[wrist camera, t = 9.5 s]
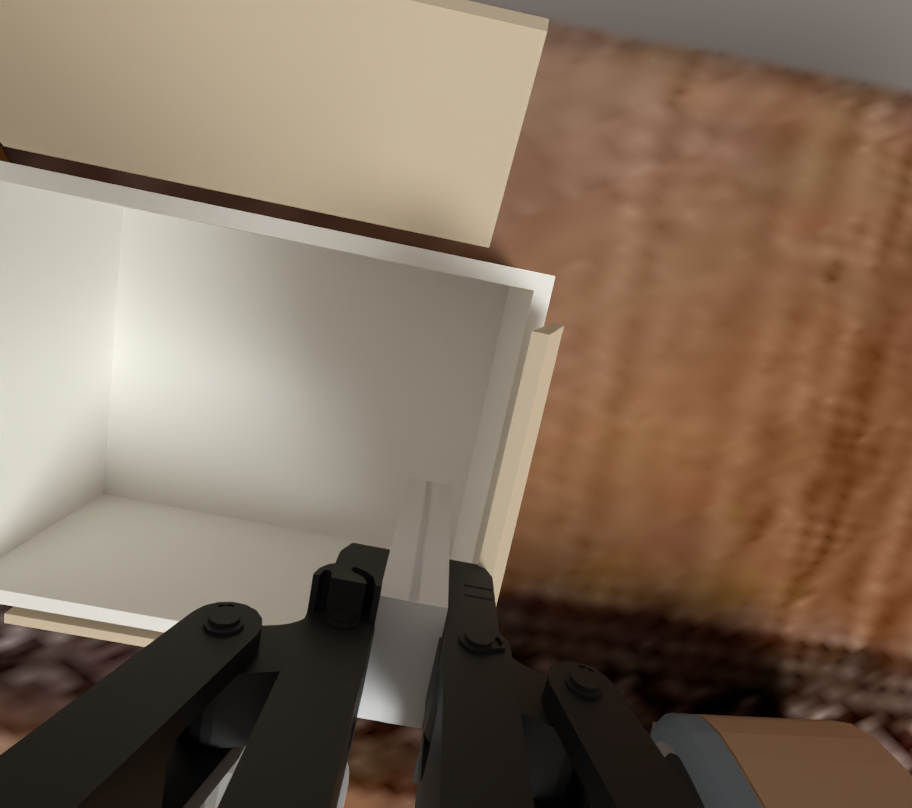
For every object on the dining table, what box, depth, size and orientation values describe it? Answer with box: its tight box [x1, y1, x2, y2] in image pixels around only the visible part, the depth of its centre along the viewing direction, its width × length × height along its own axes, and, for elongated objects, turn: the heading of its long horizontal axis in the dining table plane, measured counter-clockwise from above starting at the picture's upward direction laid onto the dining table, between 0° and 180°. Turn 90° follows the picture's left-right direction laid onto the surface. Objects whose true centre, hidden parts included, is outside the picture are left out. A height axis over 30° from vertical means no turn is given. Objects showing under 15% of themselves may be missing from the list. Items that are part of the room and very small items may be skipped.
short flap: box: [478, 323, 564, 605], centre depth 17 cm, size 6×13×1 cm
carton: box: [0, 161, 555, 647], centre depth 25 cm, size 21×17×10 cm
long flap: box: [0, 0, 549, 248], centre depth 15 cm, size 15×7×1 cm
